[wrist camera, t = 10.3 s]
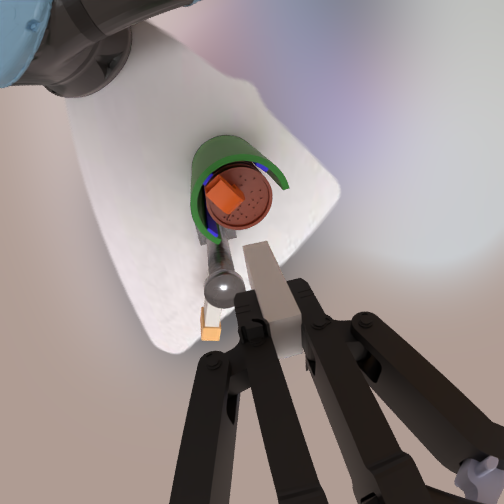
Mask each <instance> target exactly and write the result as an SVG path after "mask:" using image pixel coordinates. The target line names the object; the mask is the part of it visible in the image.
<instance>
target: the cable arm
mask: <svg viewBox="0 0 504 504" xmlns="http://www.w3.org/2000/svg"><path fill="white" fill-rule="evenodd" d="M208 276H209V269H208ZM221 311H222V308H216V307H214V306H212V305H210V304H209V303H208V302H207V300H206V298H205V301H204V307H202V308H201V318H200V322H201V339H202V340H211V341H219V338H220V332H221V325H220V317H221Z"/></svg>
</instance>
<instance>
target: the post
mask: <svg viewBox="0 0 504 504" xmlns="http://www.w3.org/2000/svg"><path fill="white" fill-rule="evenodd" d="M195 226H196V224H195ZM219 228H220V233H221V238H222V241H221V242H220V243H219V245H218V244H215V243H214V242H212V241H210V240H209V239H207V238H206V237H205V236H204V235H203V234H202V233H201V232H200V231H199V229H198V228H197V226H196V229H197V233H198V237H199V241H200V244H201V245H205V244H207V254H208V266H209V276H208V277H207V279H206V280H205V283H204V295H205V298H206V300H207V302H208V303H209V304H210V305H212V306H214V307H216V308H223V309H225V308H231V307H234V302H233V300H234V298H235V295H236V293H241V292H245V291H246V290H245V285H244V282H243V279H242V277H241V276H240V275H239V274H238V273H237V272H235V271H234V266H233V262H232V257H231V253H230V248H229V244H228V239H232V238H237V237H236V232H235V230H233V229H228V228H225V227H223V226H221V225H219Z"/></svg>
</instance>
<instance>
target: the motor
mask: <svg viewBox="0 0 504 504" xmlns="http://www.w3.org/2000/svg"><path fill="white" fill-rule="evenodd" d="M252 162H253V163H254V164H255V165H256V166H258V167H259V168H260V169H262V170H263V171H265V172H267V173H268V174H269V176H270V177H271V178H272V179H273V180H274V181H275V182H276V183H277V184H278V185H279V186H280V187H281V188H282V189H283V190H285V189H288V188H289V185H288V182H287V180H286V178H285V176H284V175H283V173H282V172H281V171H280V170H279V168H278V167H277V166H275V165H274V164H273V163H272V162H271V161H269V160H268V159H267V158H266V157H265V156H263V155H262V154H261V153H260V152H259V151H257V150H256V149H255V148H254V147H252V146H251V145H250V144H249V143H247V142H246V141H245V140H243V139H241V138H239V137H236V136H230V135H223V136H217V137H214V138H212V139H210V140H208V141H207V142H205V143H204V144H203V145H202V146H201V147H200V148H199V149H198V151H197V152H196V154H195V156H194V159H193V162H192V176H191V202H190V206H191V214H192V217H193V220H194V222H195V224H196V226H197V228H198V229H199V231H200V232H201V233H202V234H203V235H204V236H205V237H206V238H207V239H209V240H210V241H212V242H214V243H215V244H218V245H219V243H220V242H221V241H222V238H221V233H220V228H219V225H221V226H223V227H225V228H228V229H233V230H242V229H247V228H250V227H252V226H254V225H256V224H258V223H259V222H260V221H261V220H263V218H264V217H265V216H266V215H267V213H268V212H269V210H270V207H271V204H272V190H271V186H270V184H269V182H268V181H267V179H266V178H265V177H264V176H263V175H262V173H261V172H260V171H259V170H258V169H257V168H256V167H255V166H254V164H253V163H252ZM202 184H203V186H202Z"/></svg>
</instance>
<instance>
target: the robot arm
mask: <svg viewBox="0 0 504 504" xmlns="http://www.w3.org/2000/svg"><path fill="white" fill-rule="evenodd" d="M198 1H201V0H0V88H5V87H8V86H19V85H43V86H44V87H45V88H46V89H47V90H48V91H50V92H51V93H53V94H55V95H57V96H60V97H66V98H76V97H83V96H87V95H90V94H93V93H95V92H97V91H99V90H100V89H102V88H103V87H105V86H106V85H107V84H108V83H110V82H111V81H112V80H113V79H114V78H115V77H116V75H117V74H118V73H119V72H120V70H121V69H122V67H123V66H124V64H125V62H126V60H127V58H128V55H129V52H130V49H131V42H132V35H131V29H130V26H132V25H134V24H137V23H139V22H141V21H144V20H146V19H148V18H151V17H153V16H156V15H159V14H161V13H164V12H167V11H170V10H173V9H176V8H178V7H181V6H183V7H188V6H191V5H193V4H195V3H196V2H198ZM243 251H244V257H245V262H246V267H247V272H248V277H249V282H250V286H251V289H252V290H250V291H245V292H241V293H236V295H235V298H234V300H233V302H234V307H235V312H236V317H237V321H238V333H239V337H240V341H239V343H238V344H237V345H236V346H235V348H233V349H232V350H230V351H228V352H226V353H223V352H221V351H211V352H208V353H206V354H204V355H203V356H202V357H201V358H200V360H199V363H198V366H197V371H196V375H195V380H194V384H193V389H192V393H191V398H190V402H189V407H188V411H187V416H186V422H185V426H184V430H183V435H182V440H181V445H180V450H179V455H178V460H177V465H176V470H175V475H174V481H173V486H172V492H171V497H170V503H169V504H229V498H230V489H231V479H232V469H233V459H234V450H235V440H236V430H237V421H238V410H239V401H240V393H241V392H242V391H244V390H246V389H248V388H250V387H251V390H252V394H253V399H254V403H255V407H256V412H257V416H258V420H259V425H260V429H261V433H262V437H263V441H264V445H265V450H266V453H267V458H268V462H269V466H270V470H271V473H272V477H273V481H274V485H275V489H276V493H277V497H278V503H279V504H328V501H327V498H326V495H325V493H324V491H323V489H322V487H321V485H320V483H319V480H318V478H317V474H316V471H315V468H314V466H313V462H312V460H311V456H310V453H309V451H308V447H307V445H306V442H305V439H304V435H303V433H302V429H301V426H300V423H299V420H298V417H297V414H296V411H295V408H294V405H293V402H292V399H291V396H290V393H289V390H288V387H287V383H286V380H285V377H284V374H283V371H282V368H281V365H280V362H279V359H283V358H287V357H291V356H294V355H298V354H302V353H303V349H304V352H305V354H306V371H307V370H308V368H309V371H310V373H311V376H312V378H313V381H314V383H315V386H316V388H317V391H318V394H319V396H320V398H321V401H322V404H323V406H324V409H325V411H326V414H327V417H328V419H329V422H330V424H331V427H332V429H333V432H334V435H335V437H336V440H337V442H338V445H339V448H340V450H341V453H342V455H343V458H344V461H345V463H346V466H347V468H348V471H349V474H350V476H351V479H352V484H353V491H354V495H355V497H356V500H357V502H358V504H496V503H497V501H498V499H499V497H500V494H501V493H502V490H503V488H504V427H503V426H501V425H499V424H496V423H493V422H492V421H491V420H490V419H489V418H488V417H487V416H486V415H485V414H484V413H483V412H482V411H480V409H478V408H477V407H476V406H475V405H474V404H473V403H472V402H471V401H470V400H469V399H468V398H467V397H466V396H465V395H464V394H463V393H462V392H461V391H460V390H459V389H457V388H456V387H455V386H454V385H453V384H452V383H451V382H450V381H449V380H448V379H447V378H446V377H445V376H444V375H443V374H441V373H440V372H439V371H438V370H437V369H436V368H435V367H434V366H433V365H431V364H430V363H429V362H428V361H427V360H426V359H425V358H424V357H423V356H422V355H421V354H420V353H418V352H417V351H416V350H415V349H414V348H413V347H412V346H411V345H409V344H408V343H407V342H406V341H405V340H404V339H403V338H402V337H400V336H399V335H398V334H397V333H396V332H395V331H394V330H392V329H391V328H390V327H389V326H388V325H387V324H385V323H384V322H383V321H382V320H381V319H380V318H379V317H378V316H376V315H375V314H373V313H370V312H360V313H357V314H356V315H354V316H353V318H352V320H347V321H338V320H333V319H332V318H331V317H330V316H328V315H326V314H325V313H324V311H323V309H322V307H321V306H320V304H319V302H318V300H317V299H316V297H315V295H314V293H313V291H312V290H311V288H310V286H309V284H308V283H307V282H306V281H305V280H303V279H302V278H298V279H294V280H290V281H286V280H285V278H284V276H283V274H282V271H281V269H280V267H279V265H278V263H277V261H276V259H275V257H274V255H273V252H272V250H271V248H270V246H269V244H268V242H267V241H263V242H259V243H254V244H250V245H245V246H243ZM369 386H370V387H371V388H372V389H373V390H374V391H375V392H376V393H377V395H378V396H379V397H380V398H381V399H382V400H383V401H384V402H385V403H386V405H387V406H388V407H389V408H390V409H391V410H392V411H393V412H394V413H395V414H396V415H397V417H398V418H399V419H400V420H401V421H402V422H403V423H404V424H405V425H406V426H407V427H408V429H409V430H410V431H411V432H412V433H413V434H414V435H415V436H416V437H417V438H418V439H419V440H420V442H421V443H422V444H423V445H424V446H425V447H426V448H427V449H428V450H429V451H430V453H432V455H433V456H434V457H435V458H436V459H437V460H438V461H439V462H440V463H441V464H442V465H443V466H445V467H446V468H448V469H449V470H450V471H452V472H454V473H456V474H457V475H456V478H455V485H456V486H457V487H459V488H460V489H461V490H463V491H464V493H465V498H462V497H459V496H456V495H453V494H449V493H447V492H444V491H441V490H438V489H435V488H432V487H430V486H427V485H425V483H424V481H423V479H422V477H421V475H420V473H419V470H418V468H417V466H416V464H415V462H414V460H413V459H412V457H411V456H410V455H409V454H407V453H405V452H403V451H402V450H401V448H400V447H399V444H398V443H397V441H396V438H395V437H394V434H393V432H392V430H391V428H390V426H389V424H388V422H387V420H386V418H385V416H384V414H383V412H382V410H381V408H380V406H379V404H378V402H377V400H376V398H375V397H374V395H373V393H372V391H371V389H370V387H369Z"/></svg>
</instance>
